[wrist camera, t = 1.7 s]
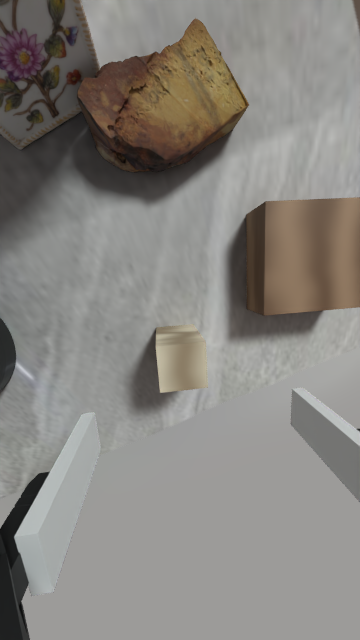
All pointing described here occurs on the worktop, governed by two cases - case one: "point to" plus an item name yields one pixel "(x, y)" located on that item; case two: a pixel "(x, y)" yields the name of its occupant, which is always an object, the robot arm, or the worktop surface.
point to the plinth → (303, 256)
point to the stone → (162, 104)
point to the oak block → (181, 358)
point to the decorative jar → (42, 65)
